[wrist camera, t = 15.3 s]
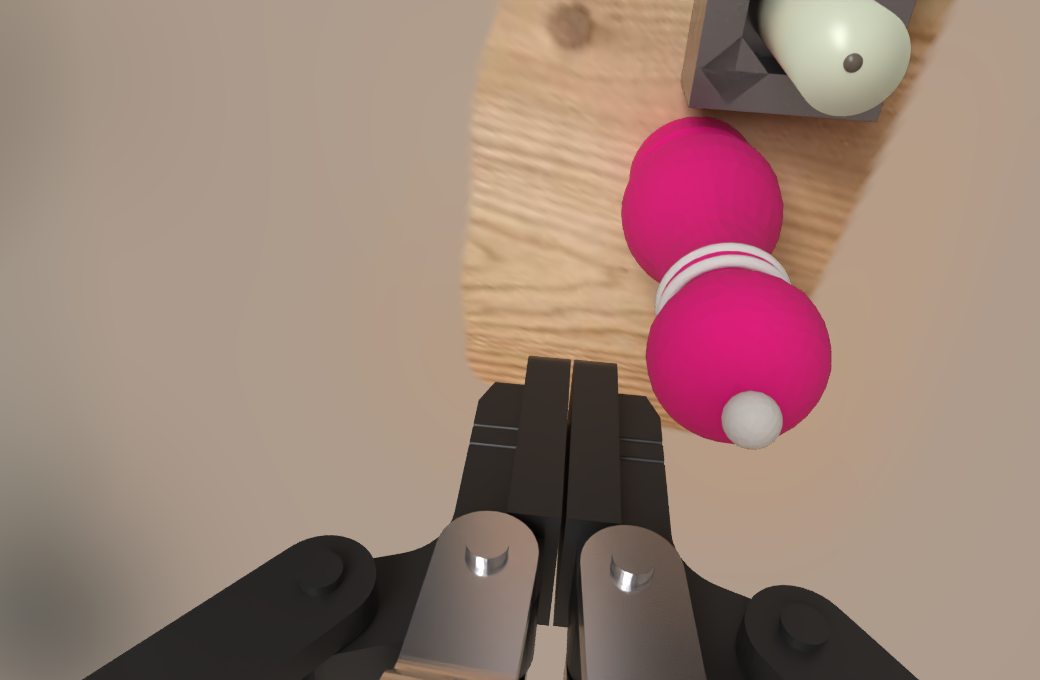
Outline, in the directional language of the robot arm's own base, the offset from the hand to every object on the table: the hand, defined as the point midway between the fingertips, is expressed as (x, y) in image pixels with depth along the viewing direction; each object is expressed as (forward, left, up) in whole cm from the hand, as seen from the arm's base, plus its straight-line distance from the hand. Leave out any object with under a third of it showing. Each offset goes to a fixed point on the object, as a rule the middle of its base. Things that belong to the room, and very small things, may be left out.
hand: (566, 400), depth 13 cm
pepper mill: (+9, +1, -27) cm, 29 cm away
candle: (+3, +8, -26) cm, 27 cm away
